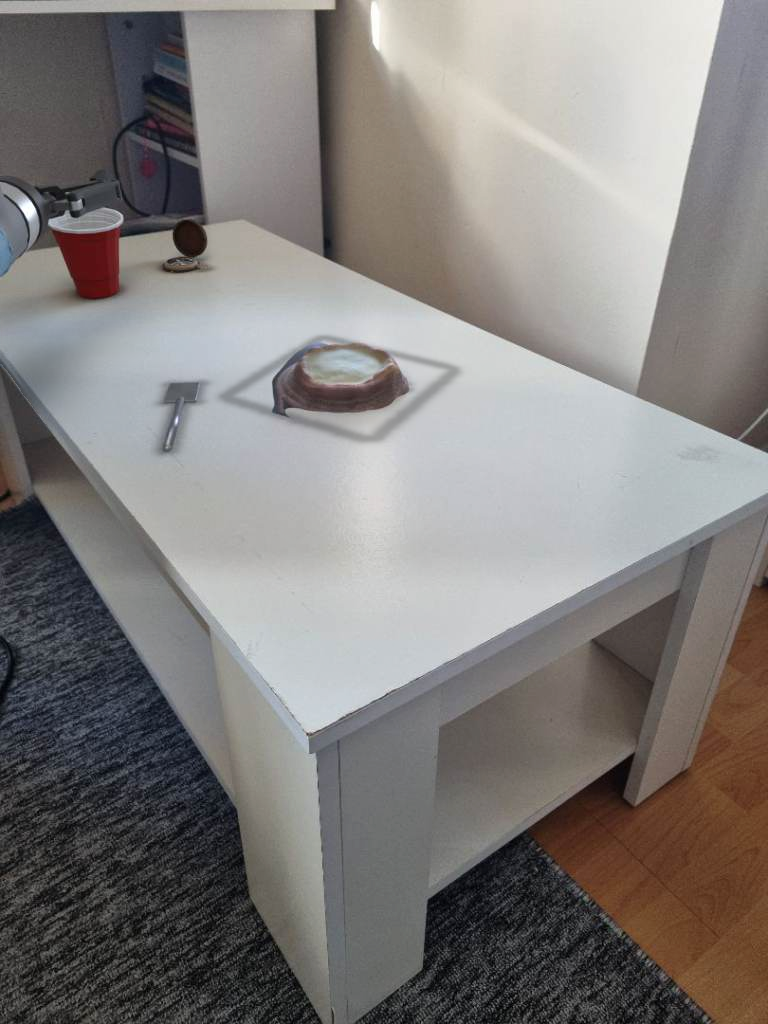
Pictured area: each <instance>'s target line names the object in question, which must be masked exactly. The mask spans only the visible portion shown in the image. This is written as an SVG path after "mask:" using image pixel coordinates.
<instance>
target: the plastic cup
mask: <svg viewBox="0 0 768 1024" xmlns="http://www.w3.org/2000/svg"><path fill="white" fill-rule="evenodd" d="M123 223H124V215H123V214H122V213H121V212H119V211H118V210H116V209H111V208H108V207H107V208H105V207H104V208H101V209H97V210H94V211H91V212H88V213H86V214H84V215H83V216H81V217H79V218H72V217H71V215H70V214H69V210H67V211H65V214H64V216H61V217H56V218H52V219H49V222H48V226H47V227H49V229H50V231H51V233H52V235H53V236H54V239H55V242H56V243H57V245H58V248H59V250H60V253H61V255H62V258H63V260H64V263H65V266H66V268H67V271H68V273H69V275H70V278H71V279H72V282H73V284H74V287H75V289H76V292H77V294H78V296H80V298H83V299H87V300H100V299H101V300H102V299H106V298H111V297H113V296H115V295H117V294H118V293H119V292H120V239H121V238H120V237H121V236H120V235H121V234H120V233H121V227H122V224H123Z"/></svg>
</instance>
